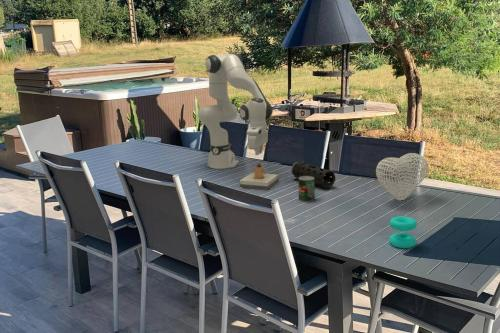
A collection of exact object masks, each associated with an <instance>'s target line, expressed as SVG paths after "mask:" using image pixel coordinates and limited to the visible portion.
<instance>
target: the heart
mask: <svg viewBox="0 0 500 333" xmlns="http://www.w3.org/2000/svg"><path fill="white" fill-rule="evenodd" d="M429 170H430V169H429V163H428V161H427V159H426V158H425V157H424V156H423V155H421V154H420V153H419V154H418V153H416V152H415V153H414V152H413V153H412V152H408V153H406V154H404V155H402V156H400V157H391V156H390V157H384V159H382V160H380V161H379V162H378V164H377V166H376V168H375V174H376V178H377V180H378V182H379V183H380V184H381V186H382V187H383V188H384V189H385V190H386V191H387V192H388V193H389V194H390V195H392V197H393V198H395V199H396V200H397V201H399V202H402V201H401V200H403V201H405V200H406V199H407V198H408V197H409V196H410V194H412V193H413V191H414V190H415V189H416V188H417V187H418V186H419V185H420V184H421V183H422V182H423V181H424V180H425V178H426V177H427V175H428V173H429ZM393 178H394V179H393Z"/></svg>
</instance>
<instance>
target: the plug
mask: <svg viewBox="0 0 500 333" xmlns="http://www.w3.org/2000/svg"><path fill="white" fill-rule="evenodd" d="M253 168H254V172H253V173H255V179H263V178H264V174H265V166H264V165H262V164H261V163H257V164H256V166H254V167H253Z"/></svg>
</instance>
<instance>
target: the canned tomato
mask: <svg viewBox="0 0 500 333" xmlns="http://www.w3.org/2000/svg"><path fill="white" fill-rule="evenodd" d="M297 179H298V182H297V183H298V201H300V202H306V203H308V202H314V200H315V192H316V190H315V184H314V179H315V178H314V177H312V176H301V177H299V178H297Z"/></svg>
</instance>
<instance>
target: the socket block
mask: <svg viewBox="0 0 500 333" xmlns="http://www.w3.org/2000/svg"><path fill="white" fill-rule="evenodd" d="M278 183H279V174H275V173H273V174H272V173H264V178H263V179H255V173H254V172H251V173H249V174H248V175H246V176H244V177H243V178H241V179H240V180H239V188H240V187H242V188H243V189H250V188H252V189H253V190H262V191H263V190H264V191H268V190H270V189H271V188H273V187H274V185H276V184H278ZM242 188H241V189H242Z"/></svg>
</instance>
